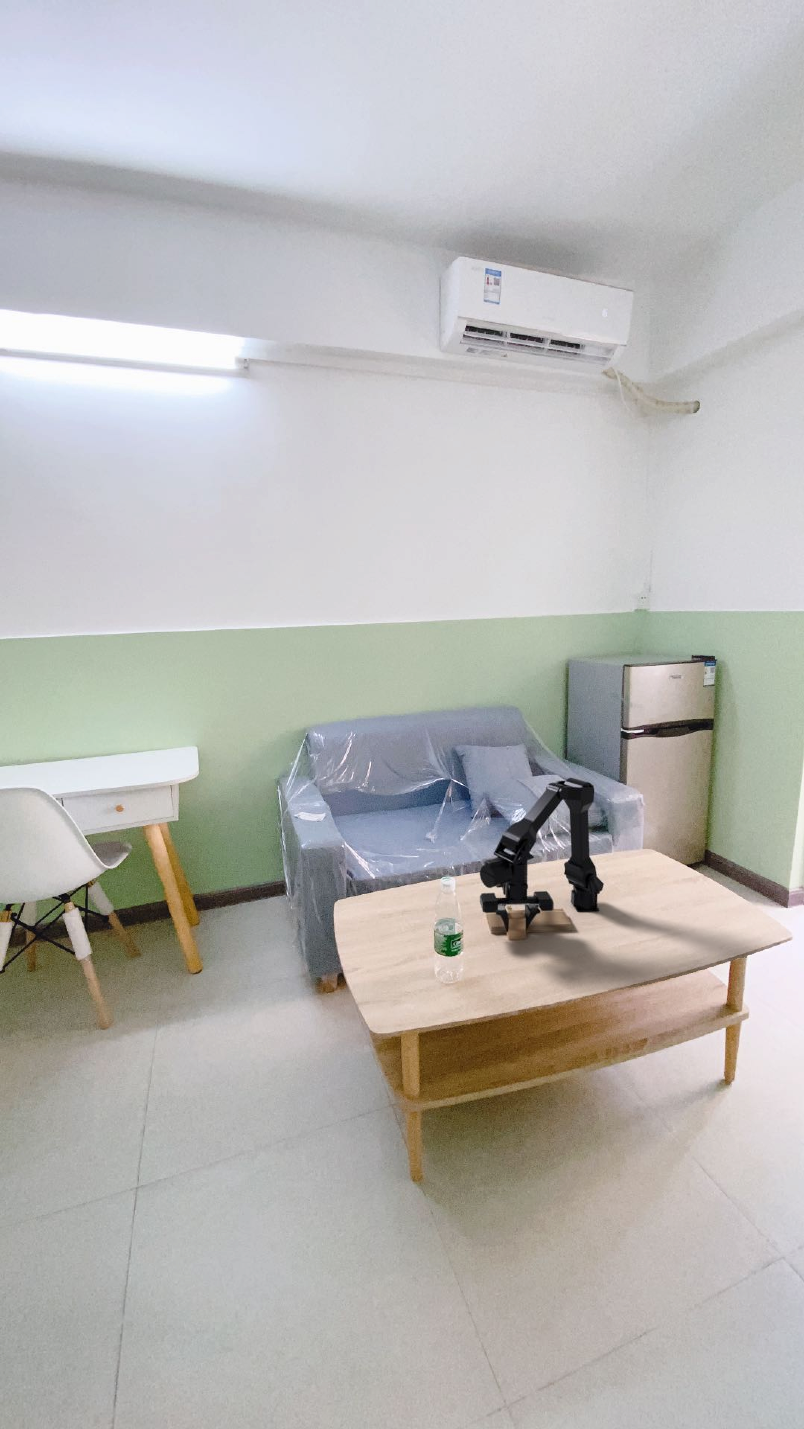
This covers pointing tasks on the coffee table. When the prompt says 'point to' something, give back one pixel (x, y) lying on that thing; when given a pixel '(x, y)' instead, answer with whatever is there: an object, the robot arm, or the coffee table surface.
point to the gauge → (516, 925)
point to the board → (534, 922)
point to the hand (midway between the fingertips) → (515, 930)
